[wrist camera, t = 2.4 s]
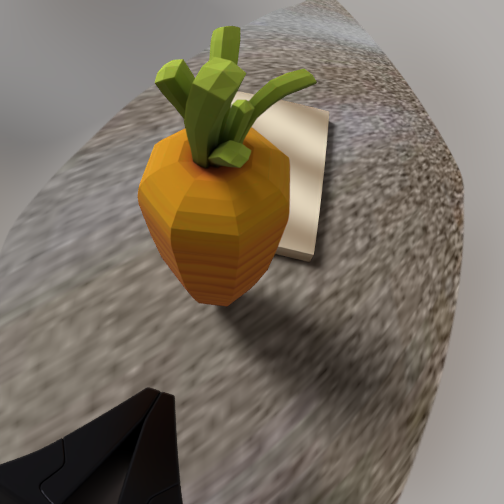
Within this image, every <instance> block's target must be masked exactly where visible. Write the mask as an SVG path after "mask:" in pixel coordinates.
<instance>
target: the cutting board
mask: <svg viewBox="0 0 504 504" xmlns="http://www.w3.org/2000/svg"><path fill="white" fill-rule="evenodd" d="M253 96H254V94H249V93H243V92H237V93H236V95H235V97H234V99H233V101H232V103H231V106H232V104H233V103H234V102H235V101H236V100H248V101H249V100H250V99H251V98H252V97H253ZM328 121H329V112H328V111H324V110H320V109H317V108H313V107H309V106H305V105H301V104H296V103H292V102H288V101H283V100H279V101H278V102H276V103H275V104H274V105H272V106H271V107H270V108H269V109H267V110H266V111H265V112H264V113H263V114H262V115H260V116H259V117H258V118H257V119H256V121H255V122H254V124H253V125H252V128H254V129H255V130H256V131H257V132H259V133H260V134H261V135H262V136H264V137H265V138H266V139H267V140H269V141H270V142H271V143H272V144H273V145H275V146H276V147H277V148H278V149H279V150H281V151H282V152H283V153H284V154H285V155H287V156H288V157H289V160H290V213H289V219H288V222H287V225H286V228H285V230H284V233H283V235H282V238H281V240H280V243H279V245H278V248H277V250H276V252H275V254H278V255H282V256H287V257H291V258H295V259H299V260H303V261H307V262H310V261H311V259H312V257H313V255H314V249H315V242H316V234H317V227H318V219H319V211H320V202H321V194H322V185H323V175H324V166H325V155H326V145H327V133H328Z"/></svg>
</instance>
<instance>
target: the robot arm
mask: <svg viewBox="0 0 504 504" xmlns="http://www.w3.org/2000/svg"><path fill="white" fill-rule="evenodd" d="M0 504H183V501H182V494H181V486H180V474H179V462H178V449H177V433H176V414H175V396H174V395H172V394H168V393H165V392H160V391H159V390H156V389H153V388H150V387H148V388H145V389H144V390H142V391H141V392H139V393H137V394H136V395H134V396H132V397H131V398H129V399H128V400H126V401H124V402H123V403H121V404H119V405H118V406H116V407H114V408H113V409H111V410H109V411H108V412H106V413H104V414H103V415H101V416H99V417H98V418H96V419H94V420H93V421H91V422H89V423H87V424H86V425H84V426H82V427H81V428H79V429H77V430H75V431H74V432H72V433H70V434H68V435H66V436H65V437H63V439H62V438H61V439H59V440H57V441H56V442H54V443H52V444H50V445H48V446H46V447H44V448H42V449H40V450H38V451H35V452H33V453H30V454H28V455H26V456H23V457H20V458H17V459H15V460H12V461H9V462H6V463H3V464H0Z"/></svg>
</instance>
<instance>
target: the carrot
mask: <svg viewBox="0 0 504 504" xmlns="http://www.w3.org/2000/svg"><path fill="white" fill-rule="evenodd" d="M239 47H240V28H239V27H235V26H226V27H221V28H217V29H216V30H214V31H213V34H212V38H211V45H210V59H209V61H208V62H207V63H206V64H205V65H203V66H202V68H201V70H200V71H199V73H198V75H197V76H196V78H194V76H193V74H192V72H191V71H190V69H189V68H188V66H187V65H186V63H185V61H184V60H183V59H180V60H172V61H170V62H169V63H167V64H165V65H164V66H163V67H162V68H161V69H160V70H159V72H158V73H157V76H156V80H155V84H156V85H157V87H158V88H159V90H160V91H161V92H162V94H163V95H164V96H165V97H166V98H167V99H168V100H169V101H170V102H171V104H172V105H173V106H174V107H175V108H176V109H177V111H178V112H179V113H180V115H181V116H182V117H183V118H184V124H185V129H183V130H181V131H179V132H177V133H175V134H173V135H171V136H169V137H167V138H165V139H163V140H161V141H160V142H158V143H157V144H155V146H154V148H153V151H152V153H151V156H150V158H149V161H148V164H147V166H146V169H145V171H144V174H143V177H142V180H141V182H140V185H139V189H138V202H139V206H140V208H141V211H142V214H143V216H144V219H145V221H146V224H147V226H148V229H149V231H150V234H151V236H152V238H153V240H154V242H155V244H156V247H157V249H158V251H159V253H160V255H161V257H162V258H163V260H164V261H165V262H166V264H167V265H168V266H169V268H170V269H171V270H172V272H173V273H174V274H175V276H176V277H177V278H178V280H179V281H180V282H181V283H182V285H183V286H184V287H185V289H186V290H187V291H188V292H189V294H190V295H191V296H192V297H193V298H194V299H195V300H196V301H197V302H198V303H203V304H211V305H219V306H229V305H230V304H231V303H232V302H234V301H235V300H236V299H238V298H239V297H240V296H242V295H243V294H244V293H246V292H247V291H248V290H250V289H251V288H252V287H253V286H254V285H255V284H256V283H257V282H258V281H259V279H260V278H261V277H262V276H263V275H264V273H265V272H266V271H267V270H268V267H269V265H270V263H271V261H272V259H273V257H274V255H275V252H276V250H277V248H278V245H279V243H280V240H281V238H282V235H283V233H284V230H285V228H286V225H287V222H288V219H289V213H290V160H289V157H288V156H287V155H285V154H284V153H283V152H282V151H281V150H279V149H278V148H277V147H276V146H275V145H273V144H272V143H271V142H270V141H269V140H267V139H266V138H265V137H264V136H262V135H261V134H260V133H259V132H257V131H256V130H255V129H254V128H252V125H253V124H254V122H255V121H256V119H257V118H258V117H259V116H260V115H262V114H263V113H264V112H265V111H266V110H267V109H269V108H270V107H271V106H272V105H274V104H275V103H276V102H278V101H279V100H281V99H282V98H284V97H285V96H286V95H289V94H291V93H294V92H297V91H299V90H302V89H304V88H307V87H309V86H311V85H314V84H316V83H317V82H316V80H315V78H314V77H313V75H312V74H310V73H309V72H308V71H307V70H305V69H301V70H297V71H293V72H289V73H286V74H284V75H282V76H279V77H277V78H275V79H272V80H270V81H269V82H268V83H267V84H266V85H265V86H264V87H262V88H261V89H260V90H259V91H258V92H257V93H256V94H255V95H254V96H253V97H252V98H251V99H250V100H249V101H248V100H236V101H235V102H234V103H233V104H232V106H231V103H232V101H233V99H234V97H235V95H236V93H237V91H238V89H239V87H240V85H241V83H242V81H243V79H244V77H245V75H246V73H245V72H244V71H243V70H242V69H241V68H240V67H238V66H237V62H238V55H239Z"/></svg>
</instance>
